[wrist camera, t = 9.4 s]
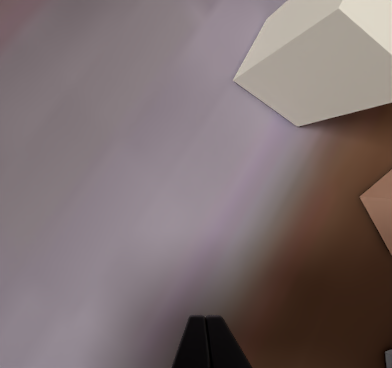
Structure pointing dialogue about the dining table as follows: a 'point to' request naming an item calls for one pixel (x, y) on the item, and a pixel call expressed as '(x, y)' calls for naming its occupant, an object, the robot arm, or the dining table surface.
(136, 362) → the dining table surface
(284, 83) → the cream rectangular block
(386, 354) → the gray rectangular block
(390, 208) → the salmon rectangular block
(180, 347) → the robot arm
